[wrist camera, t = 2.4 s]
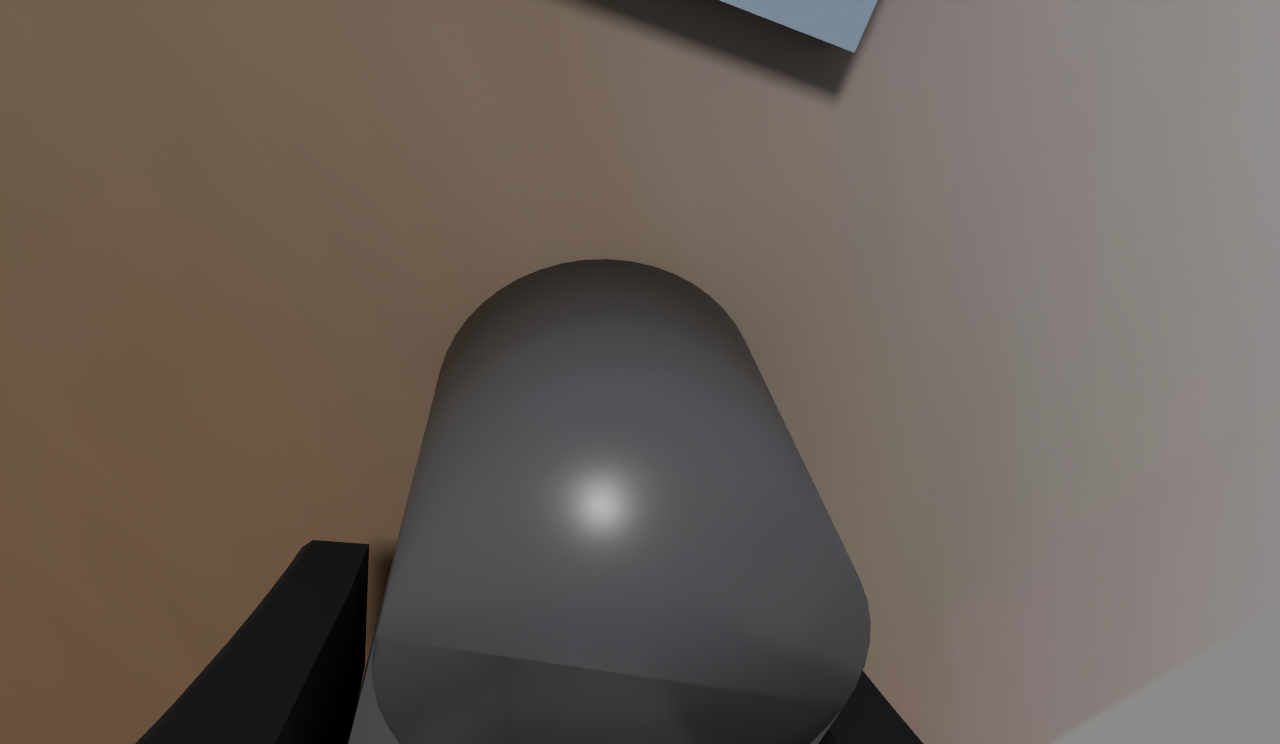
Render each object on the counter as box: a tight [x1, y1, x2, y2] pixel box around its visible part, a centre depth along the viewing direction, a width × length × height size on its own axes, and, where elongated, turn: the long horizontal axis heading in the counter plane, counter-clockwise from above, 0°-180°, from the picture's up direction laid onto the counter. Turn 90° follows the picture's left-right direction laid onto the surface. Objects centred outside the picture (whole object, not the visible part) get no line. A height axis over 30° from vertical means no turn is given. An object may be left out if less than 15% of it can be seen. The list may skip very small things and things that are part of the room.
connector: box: [347, 259, 870, 744], centre depth 9 cm, size 4×10×4 cm, turn 161°
